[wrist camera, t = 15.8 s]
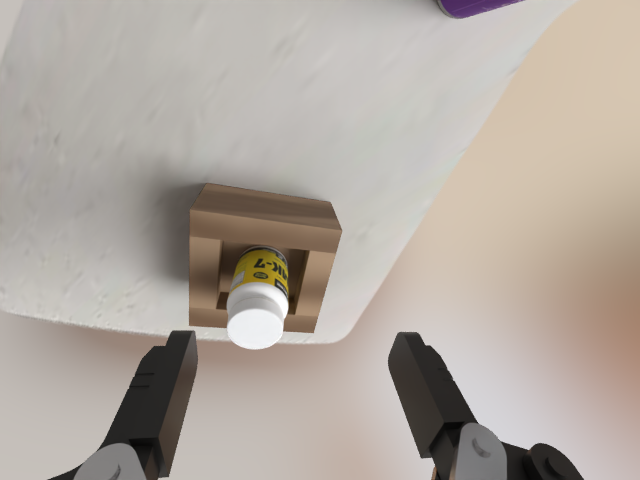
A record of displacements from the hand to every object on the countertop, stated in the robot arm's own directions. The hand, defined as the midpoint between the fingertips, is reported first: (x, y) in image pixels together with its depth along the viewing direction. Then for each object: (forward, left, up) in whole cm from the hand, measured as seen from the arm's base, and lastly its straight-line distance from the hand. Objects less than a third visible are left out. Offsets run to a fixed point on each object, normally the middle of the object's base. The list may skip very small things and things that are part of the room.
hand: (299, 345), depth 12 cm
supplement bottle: (+7, -2, -16) cm, 17 cm away
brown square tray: (+7, -2, -20) cm, 21 cm away
